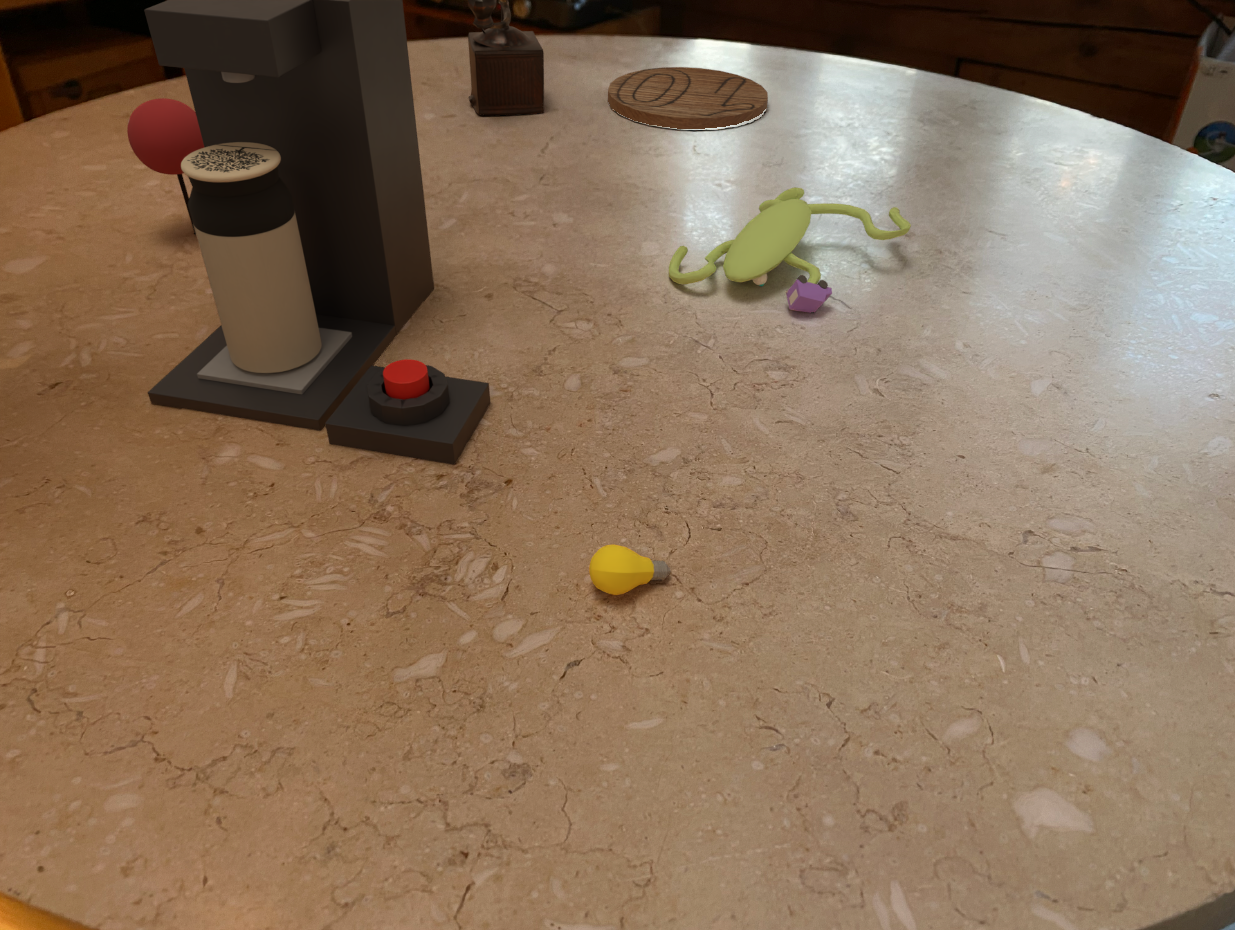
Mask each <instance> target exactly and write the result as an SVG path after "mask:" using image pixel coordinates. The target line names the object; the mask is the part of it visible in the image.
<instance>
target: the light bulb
mask: <svg viewBox="0 0 1235 930" xmlns="http://www.w3.org/2000/svg"><path fill="white" fill-rule="evenodd" d="M588 573H589V577H590V580H591V583H592V584H593V585H594V587H595V588H596V589H598V590H600V591H601V592H603V593H606V594H609V595H613V596H619V595H624V594H626V593H627V592H629V591H630V592H631V591H632V590H633V589H635V588H637V587H638V586H641V585H647V584H649V582H650V581H664V580H666V579H667V577H668V576H669V575H670V574H671V567H670V566H669V565H668V563H667V562H666V560H665V561H664V560H651V558H650V557H647V556H643V555H640V554H639V553H637V552H636V551H634V550H632V549H630V548H629V547H627V546H623V545H619V544H614V543H613V544H605V545H604V546H602V547H600V548H599V549H597V551H596V552H595V553H594V554H593V555H592V557H591V559H590V562H589V565H588Z"/></svg>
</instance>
